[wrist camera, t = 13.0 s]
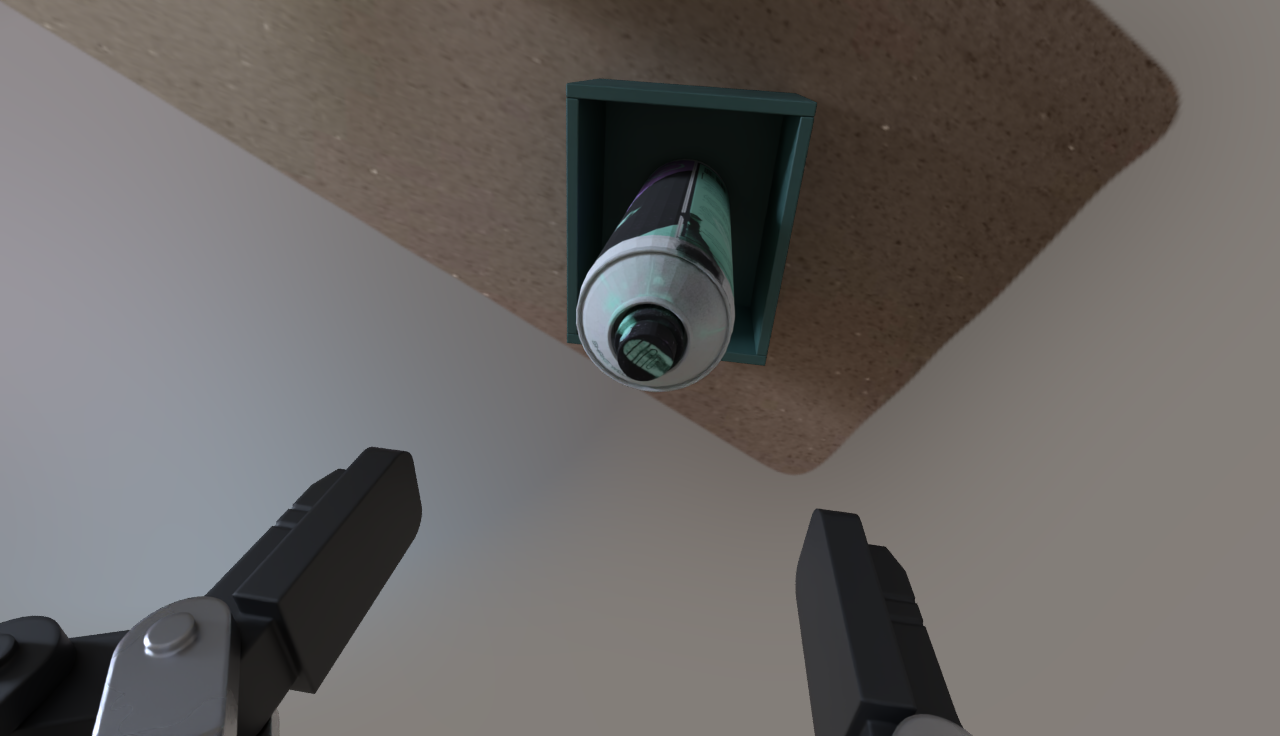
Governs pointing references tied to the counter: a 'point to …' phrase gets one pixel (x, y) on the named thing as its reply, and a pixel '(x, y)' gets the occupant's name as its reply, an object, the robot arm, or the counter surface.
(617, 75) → the counter surface
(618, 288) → the spray can
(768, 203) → the bin
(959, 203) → the counter surface
